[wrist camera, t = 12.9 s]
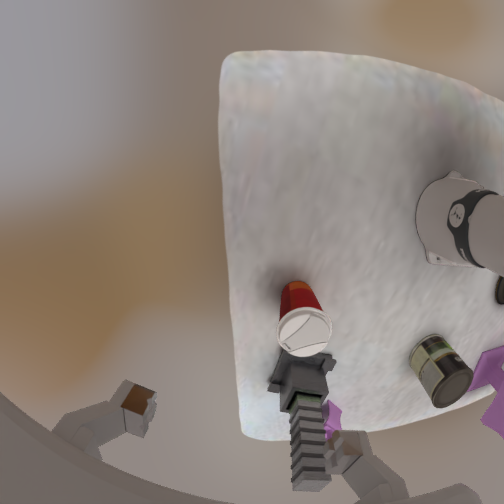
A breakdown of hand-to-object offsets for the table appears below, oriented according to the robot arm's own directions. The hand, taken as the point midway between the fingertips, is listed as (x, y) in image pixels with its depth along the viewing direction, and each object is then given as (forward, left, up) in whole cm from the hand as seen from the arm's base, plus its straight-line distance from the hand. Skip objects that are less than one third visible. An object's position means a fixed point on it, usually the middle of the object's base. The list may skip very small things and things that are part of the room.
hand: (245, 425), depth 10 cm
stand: (-14, +24, -37) cm, 46 cm away
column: (-14, +24, -27) cm, 39 cm away
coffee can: (-43, +15, -37) cm, 59 cm away
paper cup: (-8, +8, -37) cm, 39 cm away
